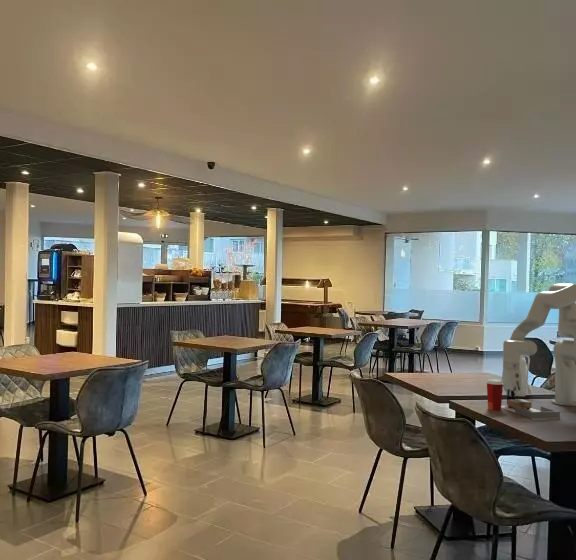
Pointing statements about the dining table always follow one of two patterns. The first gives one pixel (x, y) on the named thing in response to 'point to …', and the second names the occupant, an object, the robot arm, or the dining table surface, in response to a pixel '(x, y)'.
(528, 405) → the white wood-edged tile
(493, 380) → the paper cup
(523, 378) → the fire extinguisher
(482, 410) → the dining table surface
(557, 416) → the dock bay
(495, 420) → the dining table surface
